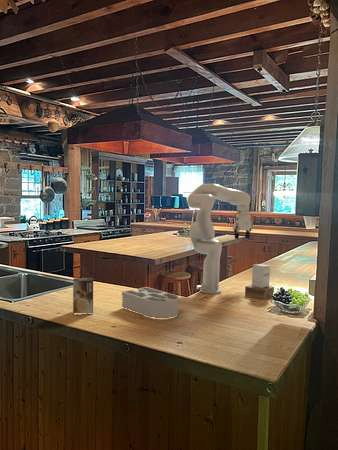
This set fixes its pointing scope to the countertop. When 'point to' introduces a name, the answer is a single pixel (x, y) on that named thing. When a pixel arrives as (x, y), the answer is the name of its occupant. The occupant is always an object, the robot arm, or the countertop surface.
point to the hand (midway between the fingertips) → (242, 238)
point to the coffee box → (83, 295)
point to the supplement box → (261, 275)
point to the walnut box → (259, 292)
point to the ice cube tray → (151, 302)
